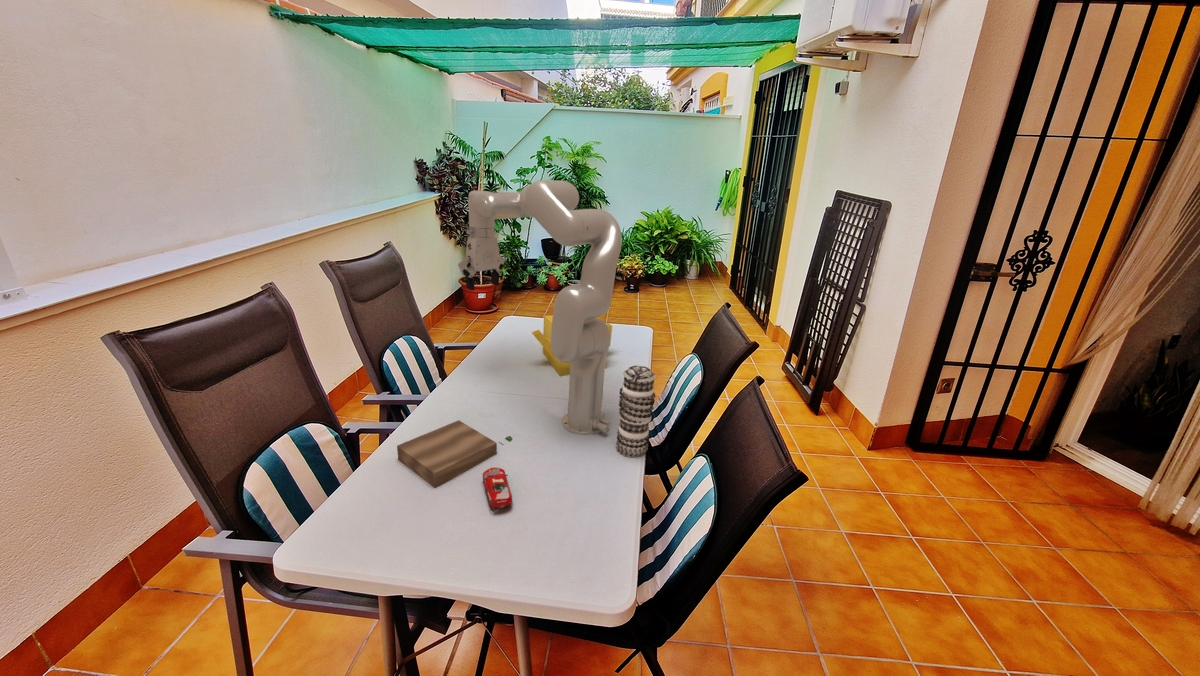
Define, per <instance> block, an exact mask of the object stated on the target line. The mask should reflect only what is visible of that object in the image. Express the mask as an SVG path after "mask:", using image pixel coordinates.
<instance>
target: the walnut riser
mask: <svg viewBox="0 0 1200 676" xmlns="http://www.w3.org/2000/svg"><path fill="white" fill-rule="evenodd" d="M497 444H498V443H497V442H496V441H494V440H492V439H491V438H489V437H488V436H486V435H485V434H483V433H482V432H480V431H478V430H477V429H474V428H473V427H471V426H469V425H468V424H466V423H465V422H463V421H461V420H460V419H458V420H456V421H453V422H451V423H448V424H446V425H444V426H441V427H439V428H436V429H434V430H432V431H428V432H427V433H424V434H423V435H420V436H418V437H415V438H412V439H410V440H408V441H405V442H403V443H401V444H398V445H396V449H397V459H398V461H399V462H400V463H402V464H403V465H405V467H407V468H409V469H410V470H411V471H412V472H414V473H415V474H417V475H418V476H419V477H420V478H422V480H424V481H425V482H427V483H428V484H429V485H431V486H432V487H433V488H435V489H436V488H438V487H440V486H442V485H444V484H445V483H448V482H450V481H451V480H454V479H456V478H457V477H459V476H460V475H462V474H464V473H466V472H467V471H469V470H471V469H473V468H474V467H476V466H478V465H480V464H482V463H483V462H484V461H487V460H488V459H491V457H494V456H496V455H497V453H498V447H497V446H498V445H497Z"/></svg>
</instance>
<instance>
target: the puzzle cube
mask: <svg viewBox="0 0 1200 676" xmlns="http://www.w3.org/2000/svg"><path fill="white" fill-rule="evenodd" d="M504 439H505V440H506V441H508V442H512V441H513V437H512V436H510V435H508V436H506V437H505V438H504ZM498 443H499V444H501V445H502V446H504V445H505V444H503V443H502V442H500V441H498Z"/></svg>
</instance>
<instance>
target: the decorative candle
mask: <svg viewBox="0 0 1200 676" xmlns="http://www.w3.org/2000/svg"><path fill="white" fill-rule="evenodd" d="M622 375H623V383H622V385H621V387H620V389H619V393H618V394H620V395H619V400H618V401H619V404H618V407H619V408H618V418H619V419H620V420H619V424H618V429H617V432H616V433H617V434H616V439H617V440H616V442H615V449H617V450H616V452H617V453H618V452H619V453H618V454H619V455H620V456H621V455H622V454H623V457H624V458H625V457H628V458H629V459H631V458H632V457H633V458H635V459H637V457H639V458H640V457H642V456H644V455H645V453H647V451H648V449H649V448H648V447H649V442H650V433H649V432H650V427H649V425H650V422H651V420H652V416H653V413H654V412H653V410H654V404H655V402H656V401H655V398H656V392H654V391H655V386H654V384H655V383H654V382H655V379H656V377H657V376H656V374H655V373H653V372H652V369H650V368H649V367H646V366H644V365H632V366H630V367H628V369H626V370H624V371H623V373H622Z"/></svg>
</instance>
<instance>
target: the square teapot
mask: <svg viewBox="0 0 1200 676" xmlns="http://www.w3.org/2000/svg"><path fill="white" fill-rule="evenodd" d="M552 319H553V314H552V315H544V316H543V333H542V331H541V330H540V329H536V330H534V331H531V334H532V335H533V337H535V338H536V340H537V341H538V342H539V344H540V345H541V346H542V354H543V357H545V359H546V360H547V361H548V363H549V364H550V365H551V366H552V368H553V369H554V370H555V372H556V373H557V374H558V376H559V377H563V376H570V366H571V362H570V363H564V362H561V361H559V360H558V359H556V357H555V356H554V354H553V352H552V349H551V343H550V338H551V328H552ZM605 323H606V325H607V326H608V328H609V330H610V345H609V348H610V347H611V340H612V332H613V325H612V324H611V323H610V322H605ZM606 359H607V356H606ZM606 369H607V361H606V362H605V370H606Z"/></svg>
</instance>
